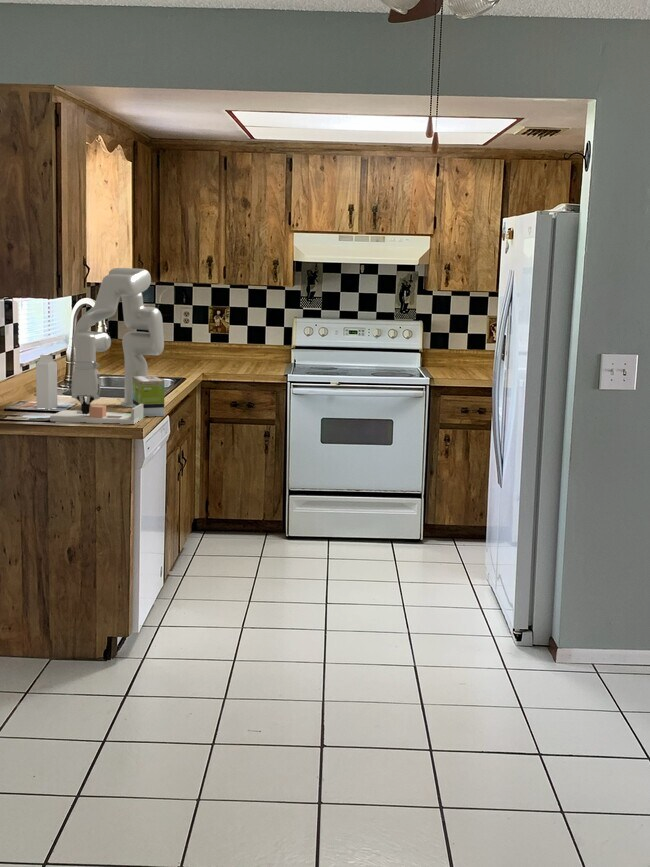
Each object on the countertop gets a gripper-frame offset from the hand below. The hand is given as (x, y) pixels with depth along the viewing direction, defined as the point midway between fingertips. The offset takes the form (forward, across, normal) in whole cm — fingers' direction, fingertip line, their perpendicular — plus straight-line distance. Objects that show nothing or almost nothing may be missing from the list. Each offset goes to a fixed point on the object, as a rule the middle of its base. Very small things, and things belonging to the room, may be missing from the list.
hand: (85, 413), depth 363 cm
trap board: (+3, -4, -4) cm, 6 cm away
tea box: (+3, -18, -24) cm, 30 cm away
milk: (+3, +24, -25) cm, 34 cm away
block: (+1, -5, 0) cm, 5 cm away
